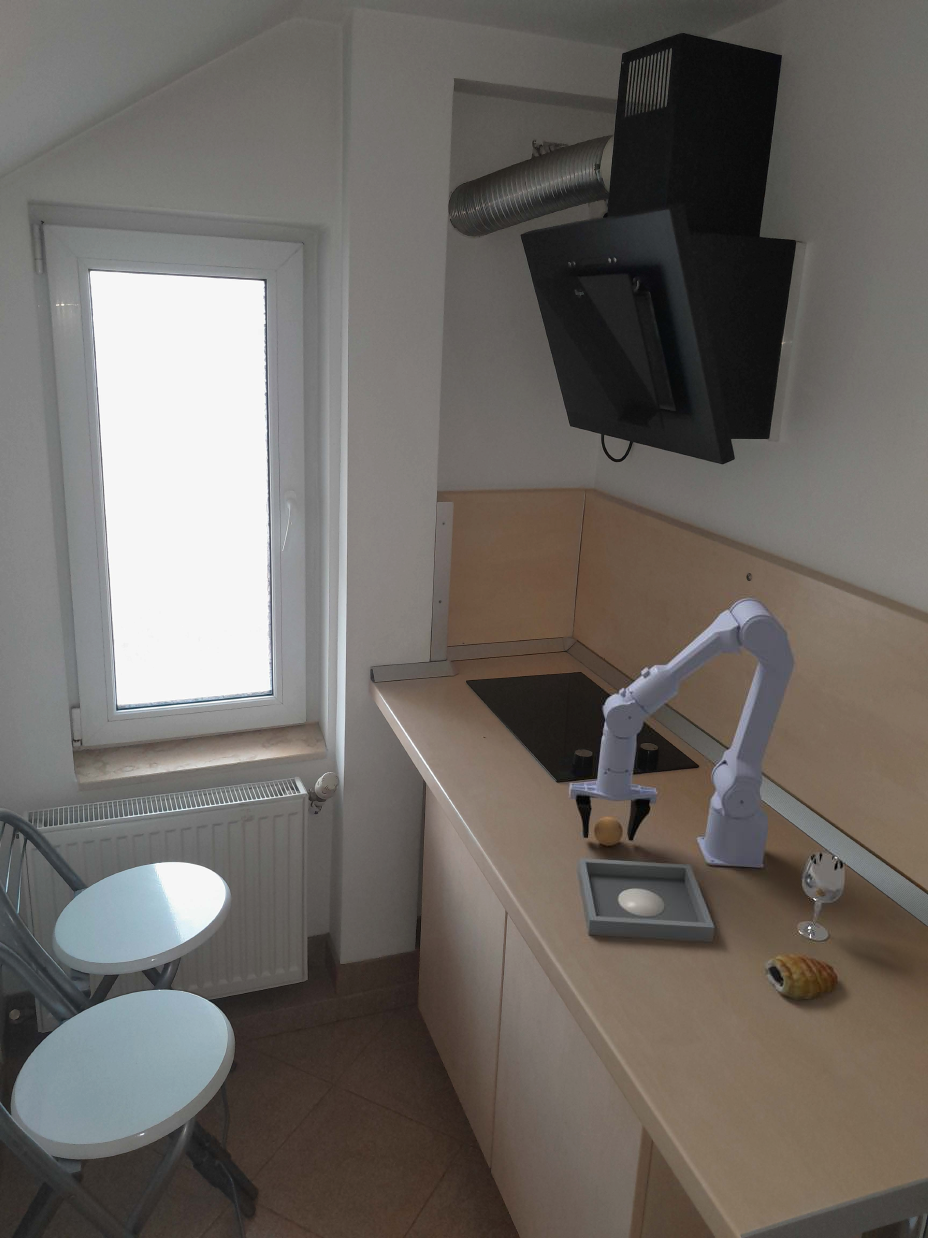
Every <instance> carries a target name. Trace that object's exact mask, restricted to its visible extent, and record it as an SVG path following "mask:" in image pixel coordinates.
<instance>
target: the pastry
mask: <svg viewBox="0 0 928 1238" xmlns="http://www.w3.org/2000/svg"><path fill="white" fill-rule="evenodd" d="M763 969H764V971H765V975H766V978H767V979H768V981H769V982H770V983H771V985H773V987H775V989H776V990H777V991H778V993H779V994H780V995H783V996H784V997H786V998H788V999H791V1000H795V1001H801V1000H804V999H805V1000H814V999H815V998H820V997H821V996H824V995H825V996H826V995H827V994H829V993H831V992H833V991H834V990H835V988H836V987H837V984H838V975H837V973H836V972H835V970H834V968H833V966H831V965H830V964H828V963H827V962H825V961H822V960H817V959H816V958H814V957H813V958H812V957H811V958H810V957H807V956H806V955H800V956H799V955H797V954H796V953H790V954H789V955H786V954H784V953H780V954H778V955H776V957H773V958H771V959H769V960H768V961H767V962H765V964H764V968H763Z"/></svg>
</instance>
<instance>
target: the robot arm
mask: <svg viewBox="0 0 928 1238" xmlns="http://www.w3.org/2000/svg"><path fill="white" fill-rule="evenodd" d="M741 647H743V648H744V649H746V651H748V652H750V653H751V654H752V655H754V656H755V658H756V659H757V661H758V663H757V667H756V669H755V672H754V676H753V679H752V682H751V684H750V688H749V691H748V695H747V697H746V700H745V703H744V706H743V710H742V713H741V716H740V718H739V723H738V726H737V728H736V731H735V734H734V737H733V740H732V743H731V746H730V748H729V749H727V750H726V751H724V753H723V756H722V758H721V760H720V761H719V762H718V763H717V764H716V765H715V766H714V768H713V770H712V771H711V774H710V775H711V776H710V777H711V779H710V780H711V782H712V785H713V787H714V788H715V792H714V794H713V796H712V797H711V798H710V805H709V810H708V817H707V822H706V829H705V836H704V837H703V836H698V837H696V840H697V844H698V845H699V848H700V851H701V853H702V856H703V858H704V860H705V863H706V864H707V865H709V866H710V865H712V866H727V867H742V868H744V867H747V868H760V869H761V868H764V866H765V865H764V863H763V862H764V861H763V860H764V858H765V857H764V856H765V850H766V845H767V839H768V834H769V820H768V815H767V811H766V810H765V809H764V808H763V807H761V803H762V797H761V786H762V784H763V772H762V771H763V770H762V769H763V767H762V762H763V759H764V756H765V753H766V750H767V747H768V745H769V741H770V738H771V735H772V732H773V729H774V726H775V723H776V720H777V717H778V715H779V712H780V708H781V707H782V703H783V700H784V697H785V694H786V691H787V688H788V686H789V684H790V683H789V682H790V679H791V676H792V673H793V671H794V667H795V664H796V663H795V662H796V661H795V658H794V655H793V652H792V648H791V645H790V642H789V639H788V632H787V630H786V629H785V628H784V627H783V625H782V624H781V623H780V622H779V621H778V620H777V619H776V618H775V617H774V615H773V614H772V612H771V611H770V610H769V609H768V608H767V607H766V606H765V604H764V603H763V602H761V601H760V600H758V599H756V598H752V597H751V598H749V597H748V598H743V599H739V600H738V601H736V602H735V603H734V604H733V605H732V606H731V607H730V609H726V610H725V611H723V612H721V613H720V614H719V615H718V616H717V618H715V620H714V621H713V622H712V623H711V624H710V626H708V627H707V628H705V630H704V631H703V632H701V633H700V634H699V635H698V636H697V637H696V638H695V639H694V640H693V641H692V642H690V644H688V645H687V646H686V647H685V648H684V649H683V650H682V651H680V652H679V653H678V654H677V655H676V656H675V657H674V658H673V659H671V660H670V661H669V662H668V663H667V664H655V665H653V666H652V667H651V668H648V667H647V666H646V667H645V668H644V669H643V670H641V672H640V674H641V676H640V677H638V678H637V679H636V680H635V681H634V682H632V683H631V684H630V685H629V686H628V687H626V688H625V687H622V688H621V689H620V690H618V694H617V693H614V694H612V695H611V696H609V697H608V698H607V699H606V700H605V702H604V705H602V713H603V717H604V719H605V721H604V727H603V729H602V734H603V735H602V737H601V742H600V752H599V759H598V770H597V778H596V780H594V781H586V782H569V789H568V796H569V797H568V798H569V799H570V800H571V799H573V800H575V804H576V807H577V810H578V812H579V815H580V819H581V825H582V835H583V838H584V839H588V838H589V835H590V833H589V832H590V818H591V815H592V809H593V808H592V801H591V800H592V799H601V800H605V801H606V800H607V801H612V802H625V801H630V812H629V819H628V824H627V830H626V831H627V833H626V836H627V838H628V839H627V840H628V841H630V842H631V841H632V842H633V841H634V839H635V836H636V834H637V831H638V829H639V827H640V826H641V824H642V822H643V821H644V819H646V817H647V816H648V815H649V814H650V812H651V805H650V804H654V805H655V804H657V799H658V792H657V789H656V788H655V787H648V786H642V785H638V784H633V783H632V782H633V775H634V774H633V773H634V767H635V766H634V765H635V758H636V752H637V735H638V734H639V733H640V732H641V730H642V728H643V726H644V721H645V720H646V719H647V718H648V717H649V716H651V715H653V714H654V713H655V712H656V711H657V710H659V708H660V709H661V707H662V706H663V705H665V704H666V703H668V701H670V700H671V699H672V698H673V697H675V696H676V695H677V694H678V693H679V691H680V684H681V682H682V681H683V680H684V679H686V678H688V677H689V676H690V675H692V674H693V673H694V672H696V671H697V670H698V669H700V668H701V667H703V666H704V665H705V664H707V663H709V662H710V661H711V660H712V659H714V658H716V657H717V656H718V655H720V654H724V653H725V654H735V655H741V654H743V651H742V649H741Z"/></svg>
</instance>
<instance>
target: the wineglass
mask: <svg viewBox="0 0 928 1238" xmlns="http://www.w3.org/2000/svg"><path fill="white" fill-rule="evenodd" d="M845 877H846V875H845V864H844V862H843V861H842V859H840V857H839V858H838V857H837V856H835V855H833V854H831V853H830V854H829V853H826V852H815V853H812V854H811V855H810V857H809V858H808V860H807V862H806V863H805V866H804V868H803V870H802V875H801V887H802V889H803V892H804V893H805V895H806V896H807V897H809V898H810V899H812V900H814V901H815V902H814V904H813V905H814V906H813V907H814V914H813V920H812V921H810V920H809V921H807V920H806V921H805V920H804V921H801V922H799V923H797V927H796V929H797V931H798V933H799V934H800V935H801V936H803V937H805V939H810V940H812V941H816V942H817V941H819V942H821V941H826V940H827V939H828V938H829V932H828V929H826V928H825V927H824V926H823V925H820V923H817V920H818V915H819V912H820V911H821V909H822V907H823V906H822V905H823V904H830V903H834V902H835V901H837V900H838V899H840V897H841V895H842V893H843V892H844V888H845V881H846V879H845ZM822 903H823V904H822Z"/></svg>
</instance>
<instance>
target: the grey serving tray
mask: <svg viewBox="0 0 928 1238" xmlns="http://www.w3.org/2000/svg"><path fill="white" fill-rule="evenodd" d="M576 871H577V878H578V879H577V880H578V883H579V890H580V895H581V901H582V906H583V913H584V917H585V923H586V929H587V936H601V937H602V936H603V937H604V936H605V937H606V936H607V937H621V938H639V939H655V940H671V941H686V942H687V941H688V942H704V943H705V942H708V943H712V942H713V938H714V933H715V929H716V928H715V925H714V922H713V920H712V918H711V917H712V916H711V915H710V912H709V910H708V907H707V903H706V901H705V899H704V897H703V894H702V892H701V889H700V887H699V884H698V881H697V879H696V877H695V873H694V872H693V869H692V866H691V864H683V863H682V864H681V863H668V862H667V863H664V862H663V863H662V862H650V861H649V862H647V861H633V860H632V861H631V860H618V859H617V860H616V859H615V860H613V859H612V860H611V859H601V858H600V859H597V858H581V857H579V858H578V861H577V869H576Z"/></svg>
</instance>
